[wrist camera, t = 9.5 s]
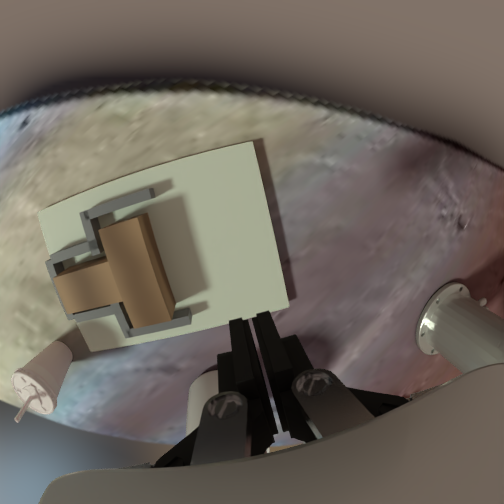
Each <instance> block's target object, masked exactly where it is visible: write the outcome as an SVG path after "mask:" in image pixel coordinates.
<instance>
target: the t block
mask: <svg viewBox="0 0 504 504" xmlns="http://www.w3.org/2000/svg"><path fill="white" fill-rule="evenodd" d="M98 231H99V234H100V238H101V241H102V244H103V247H104V251H105V254H106V256H103V257H99V258H96V259H93V260H90V261H86V262H83V263H80V264H77V265H74V266H70V267H68V268H67V269H65V270H64V271H63V272H61V273H60V274H58V275H57V276H55V277H54V278H53V280H54V283H55V286H56V288H57V291H58V293H59V296H60V298H61V301H62V303H63V305H64V308H65V310H66V312H67V314H71V313H75V312H80V311H84V310H88V309H93V308H97V307H101V306H106V305H110V304H114V303H118V302H122V301H123V303H124V306H125V308H126V311H127V313H128V315H129V318H130V320H131V323H132V325H133V327H134V329H135V328H140V327H145V326H150V325H154V324H159V323H164V322H168V321H172V317H173V313H174V310H175V306H176V301H175V299H174V296H173V293H172V290H171V287H170V284H169V281H168V278H167V275H166V272H165V269H164V266H163V263H162V259H161V256H160V253H159V250H158V247H157V243H156V240H155V236H154V233H153V230H152V226H151V223H150V219H149V215H148V212H147V213H144V214H141V215H137V216H134V217H131V218H128V219H125V220H121V221H118V222H115V223H112V224H110V225H108V226H106V227H104V228H101V229H99V230H98Z"/></svg>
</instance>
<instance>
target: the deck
mask: <svg viewBox="0 0 504 504" xmlns="http://www.w3.org/2000/svg"><path fill="white" fill-rule="evenodd" d="M147 212H148V215H149V219H150V223H151V226H152V230H153V233H154V236H155V240H156V243H157V247H158V250H159V253H160V256H161V259H162V263H163V266H164V269H165V272H166V275H167V278H168V281H169V284H170V287H171V290H172V293H173V296H174V299H175V301H176V306H175V310H174V313H173V317H172V321H168V322H164V323H159V324H154V325H150V326H145V327H140V328H135V329H134V327H133V325H132V323H131V320H130V318H129V315H128V313H127V311H126V308H125V306H124V303H123V301H122V302H118V303H114V304H110V305H106V306H101V307H97V308H93V309H88V310H84V311H80V312H75V313H71V314H67V312H66V310H65V308H64V305H63V303H62V301H61V298H60V296H59V293H58V291H57V288H56V286H55V283H54V280H53V278H54V277H55V276H57V275H58V274H60V273H61V272H63V271H64V270H65V269H67V268H68V267H70V266H74V265H77V264H80V263H83V262H86V261H90V260H93V259H96V258H99V257H103V256H106V254H105V251H104V247H103V244H102V241H101V238H100V234H99V231H98V230H99V229H101V228H104V227H106V226H108V225H110V224H112V223H115V222H118V221H121V220H125V219H128V218H131V217H134V216H137V215H141V214H144V213H147ZM37 214H38V218H39V222H40V225H41V229H42V232H43V236H44V239H45V243H46V246H47V249H48V252H49V255H50V258H51V259H49V260H48V261H46V262H45V264H46V266H47V269H48V272H49V275H50V277H51V280H52V283H53V285H54V288H55V290H56V293H57V295H58V298H59V300H60V303H61V305H62V307H63V309H64V312H65V314H66V316H67V318H68V320H72V319H75V321H76V323H77V325H78V327H79V329H80V331H81V333H82V336H83V338H84V340H85V341H86V343H87V345H88V347H89V349H90V351H91V352H94V351H101V350H106V349H112V348H118V347H123V346H129V345H134V344H139V343H144V342H149V341H154V340H159V339H164V338H169V337H173V336H178V335H182V334H187V333H191V332H195V331H200V330H204V329H208V328H212V327H216V326H220V325H224V324H228V323H229V320H233V319H237V318H241V317H242V319H243V320H244V319H248V318H251V317H255V316H256V314H257V313H261V312H264V311H268V310H269V312H273V311H277V310H280V309H284V308H287V307H289V302H288V297H287V293H286V288H285V283H284V278H283V273H282V269H281V264H280V259H279V255H278V250H277V245H276V241H275V236H274V232H273V227H272V223H271V218H270V214H269V209H268V205H267V201H266V196H265V192H264V188H263V183H262V179H261V175H260V170H259V166H258V162H257V158H256V154H255V150H254V146H253V141H251V142H246V143H242V144H237V145H233V146H228V147H224V148H220V149H216V150H212V151H208V152H204V153H200V154H196V155H193V156H189V157H185V158H182V159H178V160H175V161H172V162H168V163H165V164H162V165H158V166H155V167H152V168H149V169H146V170H143V171H140V172H137V173H134V174H131V175H128V176H125V177H122V178H119V179H116V180H114V181H111V182H108V183H106V184H103V185H100V186H98V187H95V188H92V189H90V190H87V191H85V192H82V193H80V194H78V195H75V196H73V197H70V198H68V199H66V200H63V201H61V202H59V203H56V204H54V205H52V206H50V207H48V208H45V209H43V210H41V211H39V212H37Z"/></svg>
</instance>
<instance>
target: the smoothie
mask: <svg viewBox="0 0 504 504" xmlns="http://www.w3.org/2000/svg"><path fill="white" fill-rule="evenodd" d="M72 359H73V356H72V352H71V350H70V349H69V347H68V346H67V345H65V344H64V343H63V342H60V341H54V342H52V343H51V344H50V345H49V346H48V347H46V348H45V349H44V350H43V351H42V352H40V353H39V354H38V355H37V356H36V357H34V358H33V359H32V360H31V361H30V362H28V363H27V364H26V365H25V366H24V367H23V368H18V369H16V370H15V372H14V374H13V375H12V377H11V382H12V386H13V388H14V390H15V392H16V394H17V395H18V397H19V398H20V399H21V400H22V401H23V402H24V405H23V406H22V408H21V409H20V411H19V413H18V414H17V416H16V417H15V419H14V420H15V421H16V422H19V421H20V419H21V417H22V416H23V414H24V412H25V411H26V409H27V408H28V407H30V408H31V409H33V410H34V411H36V412H39V413H41V414H51V413H52V412H53V411H54V409H55V408H56V406H57V396H58V394H59V391H60V388H61V386H62V383H63V381H64V378H65V376H66V373H67V371H68V368H69V366H70V364H71V361H72Z"/></svg>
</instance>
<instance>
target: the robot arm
mask: <svg viewBox="0 0 504 504" xmlns="http://www.w3.org/2000/svg"><path fill="white" fill-rule="evenodd" d="M486 303H487V302H486V298H484V297H483V298H481V299H479V300H478V301H476V300H474V299H473V298H471V297H470V293H469V290H468V289H467V287H466V286H464V285H463V284H461V283H458V282H452V283H449V284H446V285H444V286H443V287H442V288H440V289H439V290H438V291H437V292H436V293H435V294H434V295H433V296H432V298H431V299H430V300H429V301H428V303H427V305H426V306H425V308H424V310H423V312H422V314H421V316H420V319H419V321H418V325H417V329H416V342H417V345H418V347H419V349H420V350H421V351H423V352H424V353H425V354H428V355H434V354H438V353H440V354H441V355H442V356H443V357H445V358H446V359H447V360H448V361H449V362H450V363H452V364H453V365H454V366H455V367H456V368H457V369H459V370H460V371H461V372H462V373H463V374H462V375H460V376H458V377H456V378H454V379H451V380H450V381H448V382H446V383H444V384H441V385H438V386H435V387H432V388H429V389H426V390H423V391H420V392H417V393H414V394H411V396H410V398H408V399H405V398H404V397H400V396H396V395H389V394H382V393H376V392H370V391H364V390H358V389H353V388H348V387H346V386H345V385H344V384H343V383H342V382H341V381H340V380H339V379H338V378H337V376H336V375H335V374H333V373H332V372H331V371H329V370H326V369H314V368H313V366H312V364H311V362H310V361H309V359H308V357H307V355H306V353H305V351H304V349H303V347H302V345H301V343H300V341H299V339H298V337H297V336H296V335H292V336H288V337H285V338H281V339H280V336H279V334H278V331H277V329H276V326H275V324H274V322H273V319H272V317H271V314H270V312H269V310H268V311H264V312H261V313H257V314H256V316H257V317H255V318H252V321H253V325H254V328H255V332H256V336H257V339H258V343H259V347H260V351H261V354H262V358H263V362H264V365H265V369H266V373H267V376H268V380H269V384H270V387H271V391H272V394H273V398H274V401H275V405H276V409H277V412H278V416H279V419H280V423H281V426H282V430H283V432H286V431H289V433H290V436H291V438H295V439H298V440H301V441H303V444H301V445H298V446H294V447H290V448H287V449H283V450H279V451H275V452H271V453H267V451H266V450H267V449H268V448H269V447H270V445H271V444H272V443H275V441H274V437H273V435H274V434H278V430H277V426H276V422H275V418H274V415H273V411H272V407H271V403H270V399H269V396H268V392H267V388H266V384H265V380H264V376H263V372H262V369H261V365H260V362H259V358H258V355H257V351H256V347H255V344H254V340H253V337H252V333H251V329H250V326H249V322H248V319H247V320H243V319H242V317H241V318H237V319H233V320H229V327H230V337H231V346H232V351H231V352H226V353H222V354H218V355H217V364H218V393H219V394H216V395H214V396H212V397H211V398H210V399H208V401H207V402H206V403H205V405H204V407H203V410H202V414H201V419H200V423H199V426H198V427H197V428H196V429H195V430H193V431H192V432H191V433H190V434H189V435H188V436H186V437H185V438H184V439H183V440H182V441H180V442H179V443H178V444H177V445H175V446H174V447H173V448H172V449H171V450H169V451H168V452H167V453H166V454H164V455H163V456H162V457H161V458H160V459H159V460H158V461H157V462H156V464H154V465H151V464H150V463H144V464H140V465H135V466H129V467H124V468H118V469H93V470H85V471H78V472H74V473H69V474H66V475H63V476H61V477H58V478H56V479H55V480H54V481H52V482H51V483H50V484H49V485H48V487H47V488H46V490H45V492H44V493H43V495H42V497H41V499H40V502H39V504H504V319H503V318H501V317H500V316H498V315H496V314H494V313H493V312H491V311H489V309H488V307H487V306H484V305H485V304H486ZM482 306H484V307H482Z"/></svg>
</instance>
